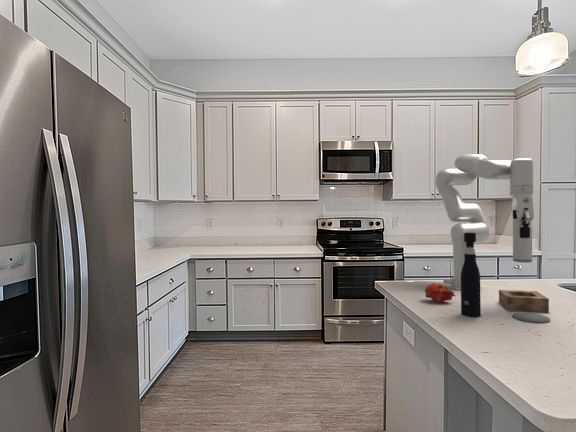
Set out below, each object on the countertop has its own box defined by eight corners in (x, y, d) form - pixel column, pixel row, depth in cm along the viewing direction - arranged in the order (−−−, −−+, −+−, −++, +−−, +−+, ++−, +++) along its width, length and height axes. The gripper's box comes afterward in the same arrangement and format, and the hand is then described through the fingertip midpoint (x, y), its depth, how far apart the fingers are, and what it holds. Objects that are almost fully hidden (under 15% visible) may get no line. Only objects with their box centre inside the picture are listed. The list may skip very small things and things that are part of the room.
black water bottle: (479, 313, 135) (478, 232, 134) (482, 318, 129) (481, 233, 128) (460, 311, 137) (459, 232, 136) (462, 316, 131) (461, 233, 130)
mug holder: (507, 310, 138) (507, 296, 138) (499, 301, 150) (498, 289, 150) (548, 312, 134) (548, 298, 134) (536, 303, 146) (536, 291, 146)
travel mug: (508, 260, 144) (508, 210, 144) (524, 259, 145) (523, 209, 144) (519, 262, 138) (519, 210, 138) (536, 262, 139) (535, 209, 138)
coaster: (517, 322, 124) (517, 320, 124) (508, 313, 134) (508, 311, 134) (555, 324, 120) (555, 322, 120) (543, 314, 131) (543, 313, 131)
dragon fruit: (423, 303, 156) (452, 311, 149) (419, 295, 150) (450, 303, 143) (428, 285, 160) (458, 292, 153) (425, 276, 154) (455, 284, 147)
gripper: (541, 189, 131) (541, 239, 132) (525, 191, 148) (525, 235, 148) (517, 190, 134) (517, 238, 134) (504, 191, 150) (504, 235, 151)
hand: (521, 236), depth 141 cm, fingers closed on travel mug, 6 cm apart
